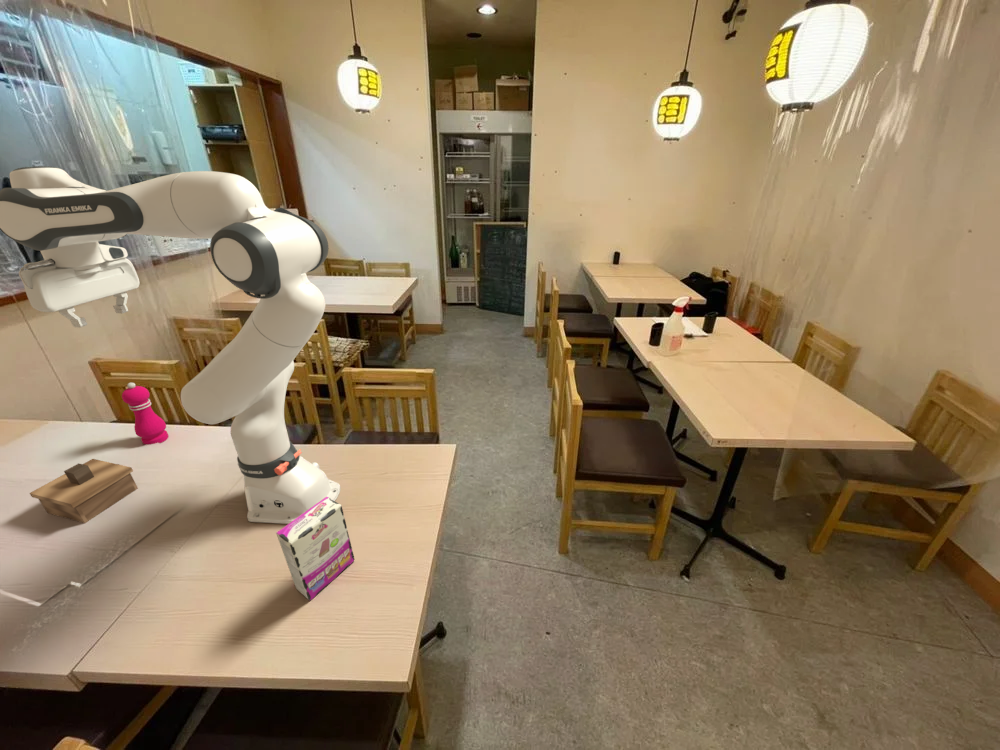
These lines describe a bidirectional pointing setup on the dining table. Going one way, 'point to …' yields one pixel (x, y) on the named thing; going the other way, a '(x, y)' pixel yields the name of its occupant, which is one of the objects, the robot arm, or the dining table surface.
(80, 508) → the walnut box
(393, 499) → the dining table surface
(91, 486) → the lid
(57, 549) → the dining table surface
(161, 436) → the pepper mill
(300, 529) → the candy bar box
